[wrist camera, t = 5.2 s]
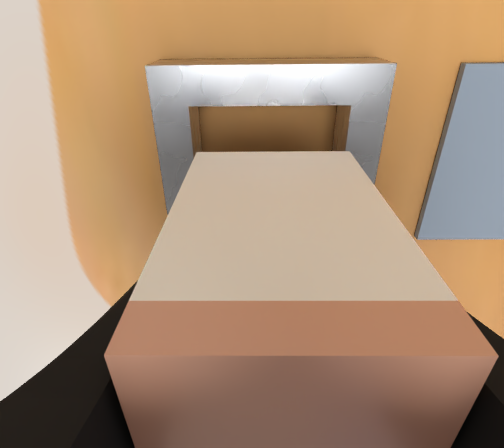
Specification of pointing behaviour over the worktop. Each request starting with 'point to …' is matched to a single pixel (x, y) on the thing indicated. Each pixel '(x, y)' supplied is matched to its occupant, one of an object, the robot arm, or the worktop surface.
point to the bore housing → (267, 102)
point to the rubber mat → (469, 161)
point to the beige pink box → (292, 317)
